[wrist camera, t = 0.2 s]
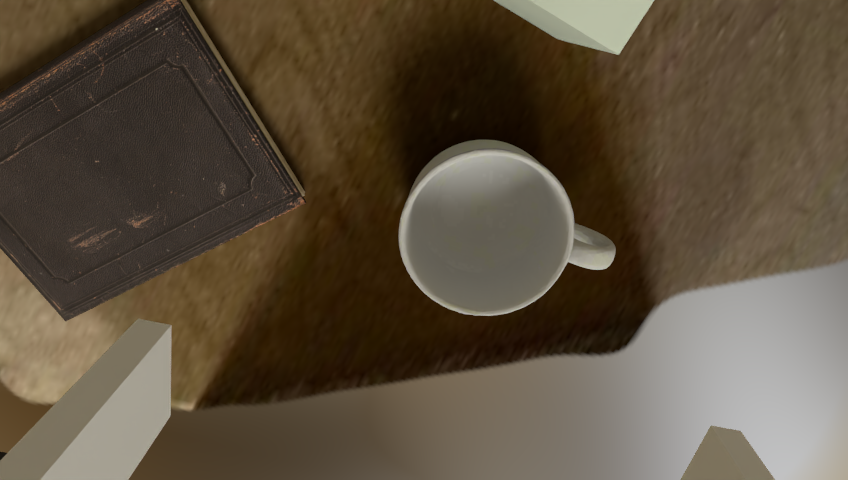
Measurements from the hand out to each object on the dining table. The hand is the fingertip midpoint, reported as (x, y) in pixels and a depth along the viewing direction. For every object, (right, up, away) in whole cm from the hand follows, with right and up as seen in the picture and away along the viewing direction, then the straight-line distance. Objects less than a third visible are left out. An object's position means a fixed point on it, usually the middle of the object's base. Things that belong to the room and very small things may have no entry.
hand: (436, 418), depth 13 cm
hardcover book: (-23, +10, +27) cm, 37 cm away
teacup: (+5, +7, +27) cm, 28 cm away
